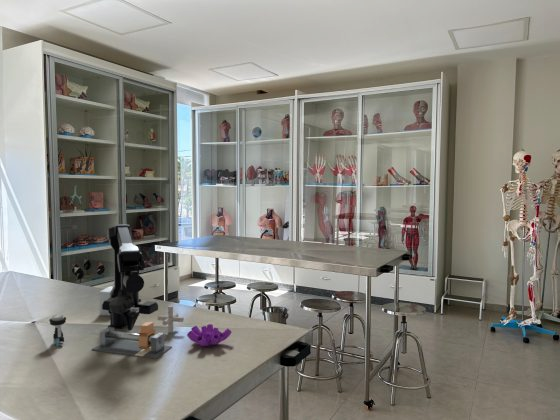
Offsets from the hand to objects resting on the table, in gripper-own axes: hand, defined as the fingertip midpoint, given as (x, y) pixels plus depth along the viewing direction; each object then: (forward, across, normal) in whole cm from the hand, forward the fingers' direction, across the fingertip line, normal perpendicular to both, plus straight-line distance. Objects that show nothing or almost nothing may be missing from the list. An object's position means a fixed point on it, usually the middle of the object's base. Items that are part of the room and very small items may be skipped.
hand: (130, 330), depth 146 cm
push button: (+7, -26, -4) cm, 27 cm away
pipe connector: (+7, +5, +19) cm, 21 cm away
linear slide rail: (+6, +1, 0) cm, 6 cm away
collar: (+5, +7, 0) cm, 8 cm away
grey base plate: (+6, +1, 0) cm, 6 cm away
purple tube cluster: (+7, +24, +11) cm, 27 cm away
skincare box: (+7, -33, +34) cm, 48 cm away
